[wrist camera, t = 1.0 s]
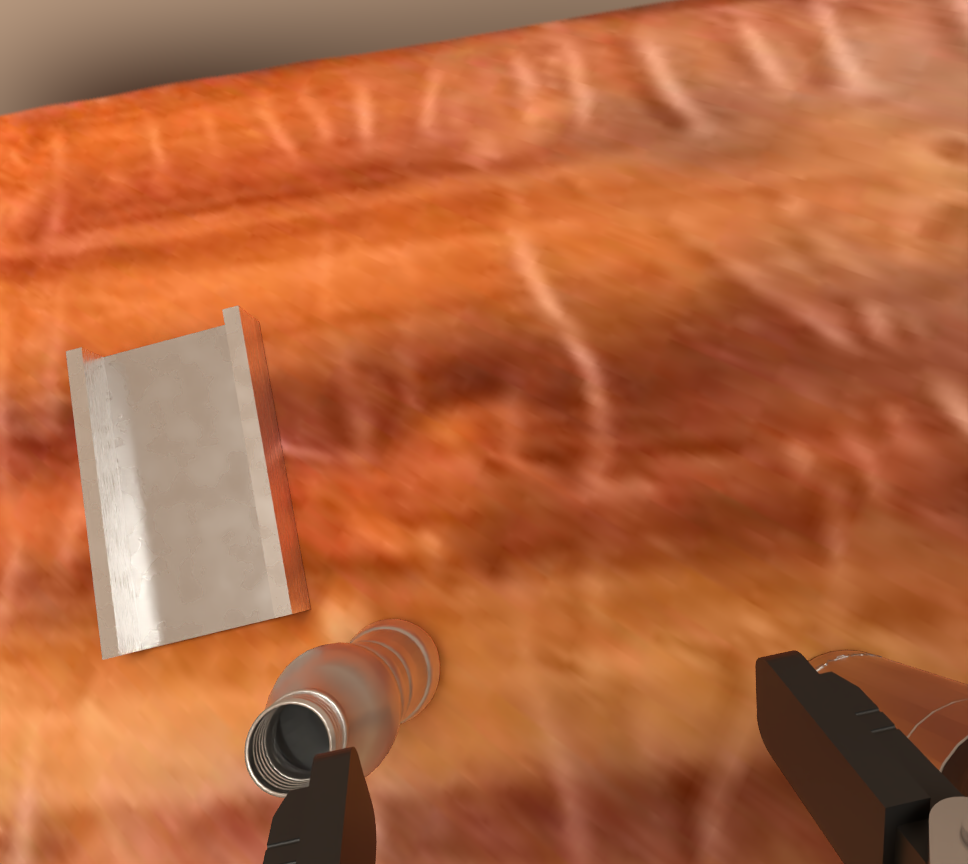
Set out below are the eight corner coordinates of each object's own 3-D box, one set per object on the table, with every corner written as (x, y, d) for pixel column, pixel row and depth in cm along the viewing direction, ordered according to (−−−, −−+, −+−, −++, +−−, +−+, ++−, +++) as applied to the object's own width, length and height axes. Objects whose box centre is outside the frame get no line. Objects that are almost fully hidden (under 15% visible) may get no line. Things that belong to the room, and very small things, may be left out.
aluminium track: (310, 609, 47) (292, 613, 44) (134, 651, 48) (102, 659, 44) (259, 321, 51) (238, 305, 48) (97, 364, 52) (65, 351, 48)
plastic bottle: (332, 668, 46) (174, 754, 27) (399, 594, 47) (291, 626, 27) (399, 736, 45) (284, 880, 25) (466, 660, 45) (404, 743, 26)
